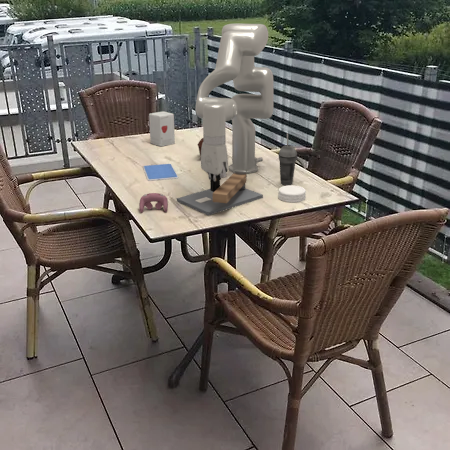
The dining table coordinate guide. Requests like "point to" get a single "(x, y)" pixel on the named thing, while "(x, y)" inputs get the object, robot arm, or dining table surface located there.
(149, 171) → the tablet computer
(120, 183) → the dining table surface
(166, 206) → the video game controller
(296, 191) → the white round container
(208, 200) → the label panel
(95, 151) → the dining table surface
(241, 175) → the swing bar
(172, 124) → the supplement box
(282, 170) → the beverage cup
